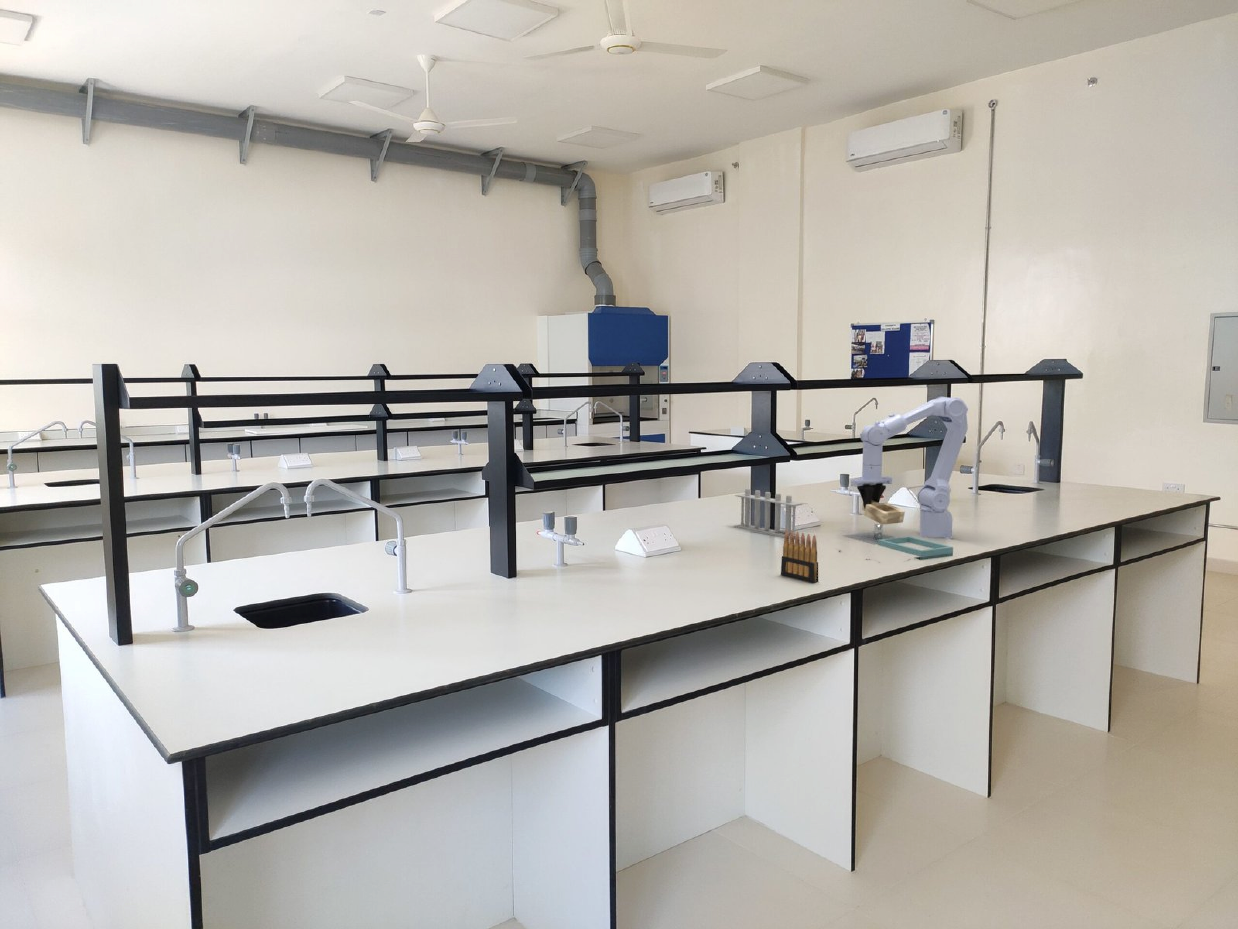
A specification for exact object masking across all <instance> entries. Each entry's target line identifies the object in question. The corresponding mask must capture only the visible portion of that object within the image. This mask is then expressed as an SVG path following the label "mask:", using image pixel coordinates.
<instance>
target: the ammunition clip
mask: <svg viewBox="0 0 1238 929" xmlns="http://www.w3.org/2000/svg"><path fill="white" fill-rule="evenodd" d="M784 533H785V536H784V538H783V544H782V545H783V546H782V555H781V567H780V576H783V577H787V578H791V579H795V580H799V581H802V582H808V583H811V584H816V583H817V584H818V583H819V562H818V545H817V542H818V541H817V536H816V535H815V534H814V535H813V536H812V540H811V535H810V534H809V533H807V536H806V537H805V533H804V532H802V533H801V535H800V534H799V531H796V532H795V535H794V533H793V531H792V530H791V534H790V539H789V534H788V530H786V531H785V532H784ZM794 536H795V539H794ZM799 537H800V538H799Z"/></svg>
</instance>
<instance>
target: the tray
mask: <svg viewBox="0 0 1238 929" xmlns="http://www.w3.org/2000/svg"><path fill="white" fill-rule="evenodd" d="M905 543H911V544H914V545H918V546H921V547H926V548H927V549H917V548H914V547H910V546H908V545H907V546H906V545H903V544H905ZM877 546H881V547H884V548H887V549H891V550H895V551H899V552H903V553H907V554H910V555H914V556H915V557H914V559H916V560H919V561H924V560H932V559H939V558H945V557H953V555H954V547H953V546H950V545H946V544H942V543H938V542H935V541H931V540H926V539H921V538H918V537H914V536H909V535H907V536H899V537H896V538H889V539H881V540H878V544H877ZM916 556H917V557H916Z"/></svg>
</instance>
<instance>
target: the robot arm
mask: <svg viewBox="0 0 1238 929" xmlns="http://www.w3.org/2000/svg"><path fill="white" fill-rule="evenodd" d="M968 411H969V408H968V406H967V404H966V403H965V402H964V400H963V399H962V398H959V397H946V396H938V397H937V398H935V399H931V400H929V401H927V402H926V403H923V404H921V405H920V406H917V407H916V408H914V409H912V410H910V411H908V412H906V413H904V414H902V415H901V414H899V413H890V414H889V415H888V417H886V418H884V419H882V420H880V421H879V420H877V421H875V423H874V425H873V424H868V425H866V426H864V427H863V429H862V430H861V433H860V434H859V438H860V440H861V442H863V443H862V470H861V471H862V472H861V473H862V474H861V475H862V476H861V477H860V478H855V479H851V480H850V487H855V488H857V490H858V492H859V494H860V497H861V500H862V506H863V505H864V508H866V504H871V500H873V501H875V502H877V503H880V500H881V498H882V495H883V493H884V492H885V491H886V488H887V484H888V485H892V484H893V477H891V476H890V477H889V476H885V477H883V474H882V472H883V471H882V470H883V444H884V443H885V442H886V441H887V440H888V439H891V437H894V436H896V435H899V434H901V433H902V432H905V431H906V430H907V428H908V427H907V426H908V425H911V424H914V423H916V422H918V421H920V420H922V419H925V418H927V417H928V418H929V416H936V417H937V418H938V419H940V420H941V421H942V422H943V424H944V426H945V427H946V429H947V430H946V433H945V436H944V439H943V441H942V444H941V447H940V449H939V453H938V456H937V458H936V461H935V465H934V467H933V470H932V472H931V475H930V477H929V478H928V479H927V480H926V481H924V483H923V486H922V487H921V489H919V490H918V492H917V496H916V498H917V500H916V501H918V503H919V505H920V510H919V511H920V513H919V515H920V516H919V536H921V537H923V538H924V537H925V538H931V539H932V538H933V539H936V538H945V539H949V540H951V539H952V540H953V539H954V537H955V536H953V520H954V519H953V515H952V513H951V511H950V510H948V509H947V508H948V507H949V504H950V501H951V500H950V494H951V492H952V491H951V486H950V484H949V482H950V479H951V476H952V474H953V470H954V468H955V465H956V463H957V460H958V457H959V455H960V452H961V448H962V445H963V443H964V440H965V438H966V434H967V433H968V428H969V425H968V417H967V413H968Z"/></svg>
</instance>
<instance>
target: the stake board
mask: <svg viewBox="0 0 1238 929" xmlns="http://www.w3.org/2000/svg"><path fill="white" fill-rule="evenodd" d="M883 527H884V526H883V525H882V524H880V523H874V526H873V531H872V532H864V533H854V534H845V535H843V537H844V538H845V537H846V538H849V539H853V540H857V541H861V542H863V543H864V542H865V543H868V544H871V545H878V540H881V539H889V538H897V537H895V536H892V535H888V534H884V533H883Z"/></svg>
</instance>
